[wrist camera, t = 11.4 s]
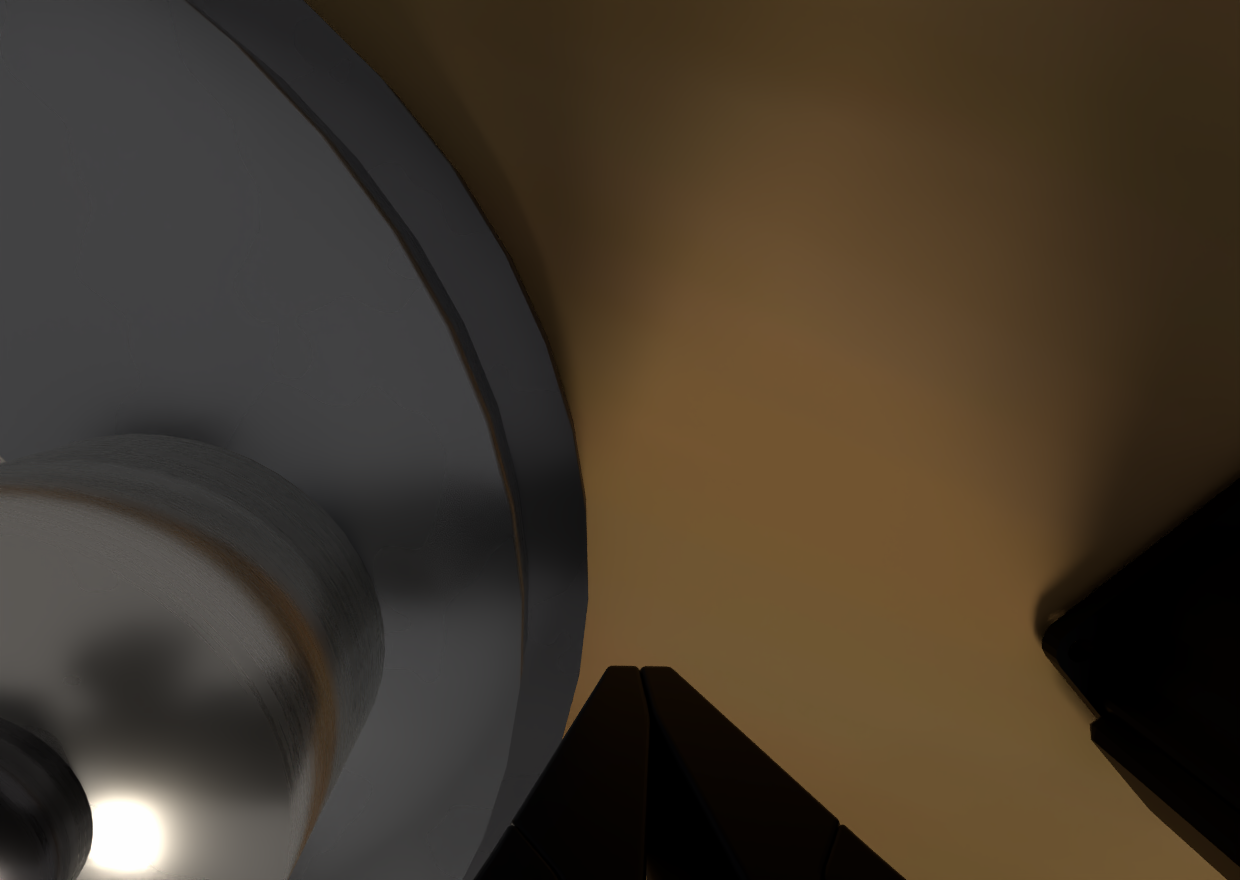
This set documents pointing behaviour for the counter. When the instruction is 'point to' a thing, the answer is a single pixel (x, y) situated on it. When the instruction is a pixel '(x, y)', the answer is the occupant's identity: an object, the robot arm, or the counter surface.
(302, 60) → the turntable base
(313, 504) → the cover
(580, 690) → the counter surface
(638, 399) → the counter surface
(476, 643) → the turntable
